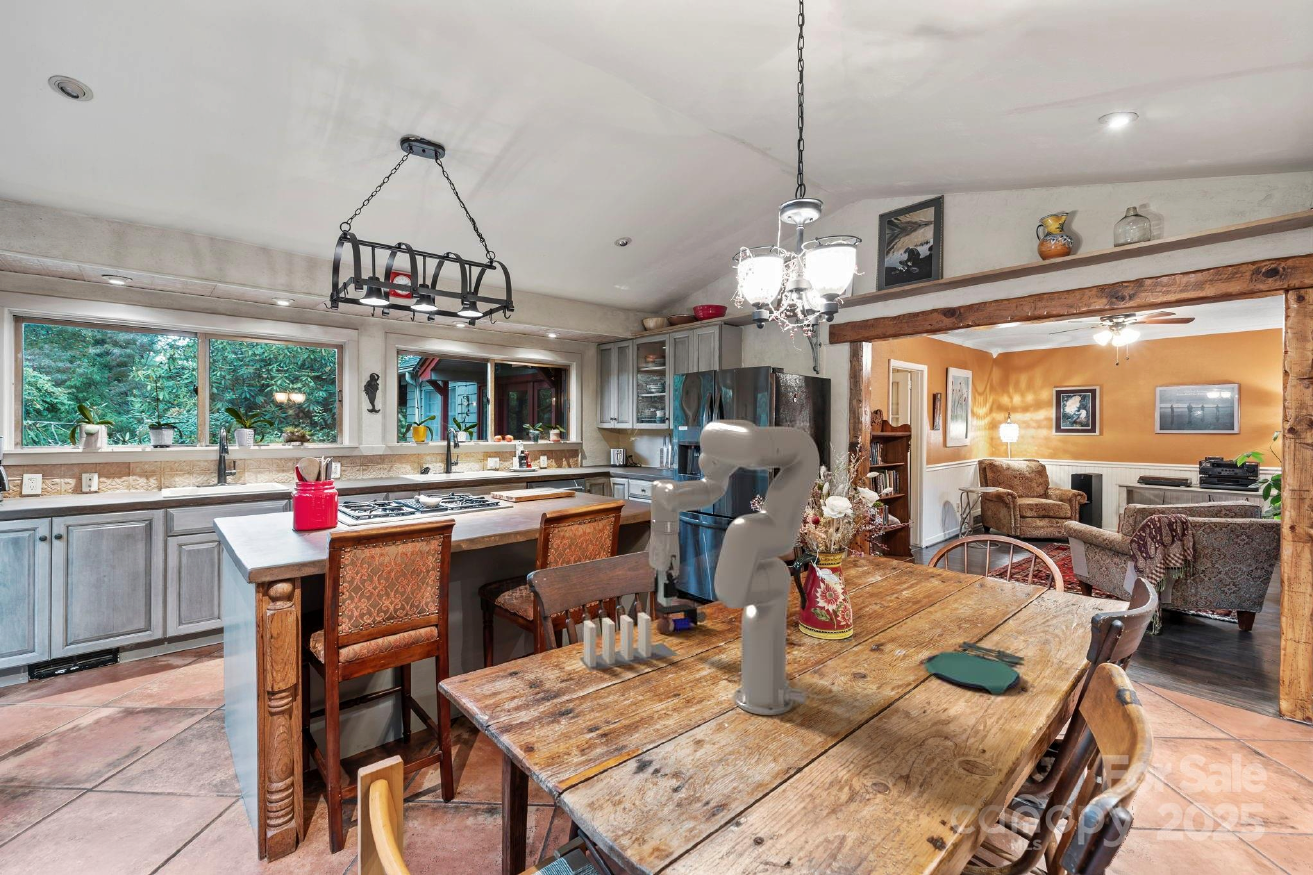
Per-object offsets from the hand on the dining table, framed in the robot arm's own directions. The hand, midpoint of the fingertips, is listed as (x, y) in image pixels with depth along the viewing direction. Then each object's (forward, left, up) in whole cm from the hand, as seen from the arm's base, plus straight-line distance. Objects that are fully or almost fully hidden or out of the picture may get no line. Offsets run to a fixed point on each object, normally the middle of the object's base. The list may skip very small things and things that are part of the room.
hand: (664, 593), depth 155 cm
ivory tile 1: (+4, +5, -15) cm, 16 cm away
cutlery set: (-75, -22, -16) cm, 80 cm away
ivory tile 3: (+10, +12, -15) cm, 22 cm away
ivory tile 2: (+7, +9, -15) cm, 19 cm away
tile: (0, 0, -3) cm, 3 cm away
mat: (+7, +8, -15) cm, 19 cm away
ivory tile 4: (+13, +16, -15) cm, 26 cm away
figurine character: (+3, -17, -16) cm, 23 cm away
